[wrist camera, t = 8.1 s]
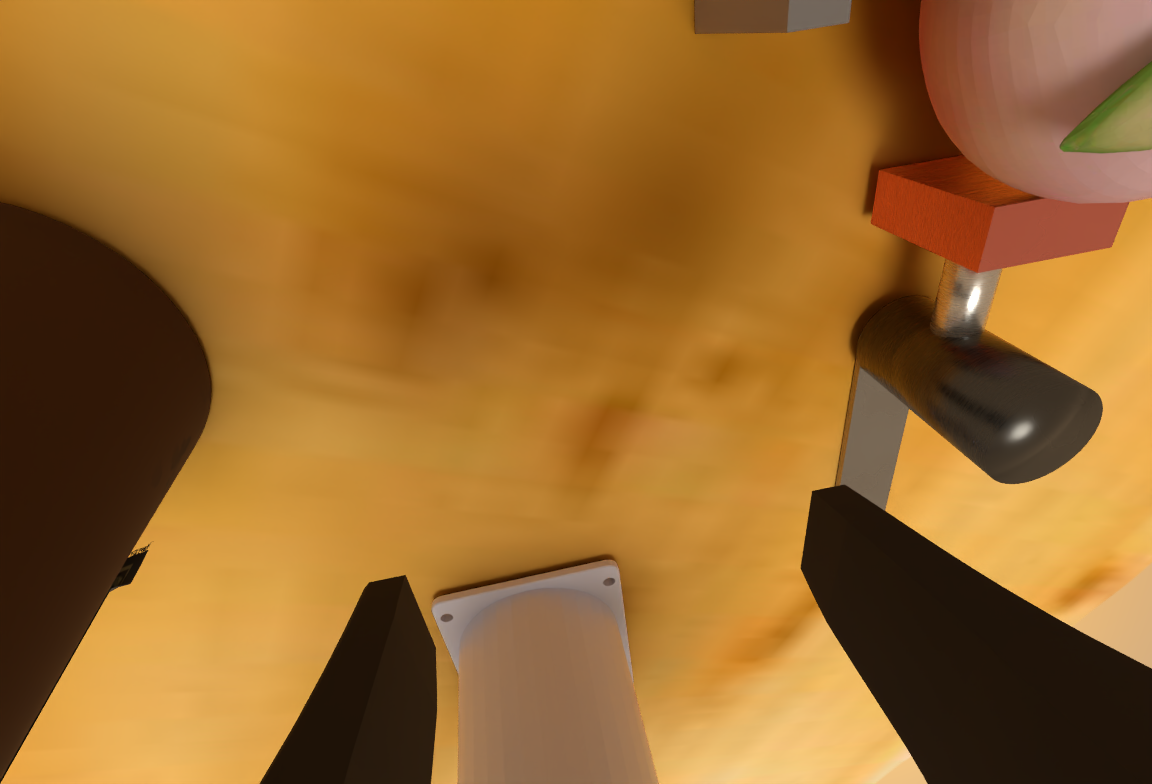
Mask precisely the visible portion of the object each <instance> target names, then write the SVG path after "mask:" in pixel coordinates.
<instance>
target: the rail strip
mask: <svg viewBox="0 0 1152 784" xmlns="http://www.w3.org/2000/svg"><path fill="white" fill-rule="evenodd" d="M908 410H909V408H908V407H907V406H906V405H904V404H903V403H902V402H901V401H900V400H898V399H897V398H896V397H895V396H894V395H893V394H891V393H890V392H889V391H888V390H887V389H885V388H884V387H883V386H882V385H881V384H879V383H878V382H877V381H876V380H875V379H873V378H872V377H871V376H870V375H869V374H868V373H866V372H865V371H864V370H863V369H862V368H861V366H860V365H859V363H858V360H857V356H856V362H855V368H854V374H853V380H852V387H851V393H850V399H849V405H848V411H847V417H846V423H845V430H844V436H843V442H842V448H841V454H840V460H839V466H838V473H837V479H836V485H835V486H840V485H844V484H845V485H846V486H848V487H850V488H851V489H853V490H854V491H856V492H857V493H859V494H860V495H862V496H863V497H865V498H866V499H868V500H869V501H871V502H872V503H874V504H875V505H877V506H878V507H880V508H881V509H883V510H884V511H885V508H886V504H887V500H888V495H889V491H890V487H891V483H892V478H893V474H894V470H895V466H896V461H897V457H898V453H899V448H900V444H901V440H902V436H903V431H904V427H905V423H906V419H907V414H908Z"/></svg>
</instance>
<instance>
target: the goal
mask: <svg viewBox="0 0 1152 784" xmlns="http://www.w3.org/2000/svg"><path fill="white" fill-rule="evenodd" d="M851 2H852V0H695V34H711V33H788V32H794V31H800V30H807V29H813V28H819V27H826V26H832V25H838V24H845V23H849V19H850V11H851Z"/></svg>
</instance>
